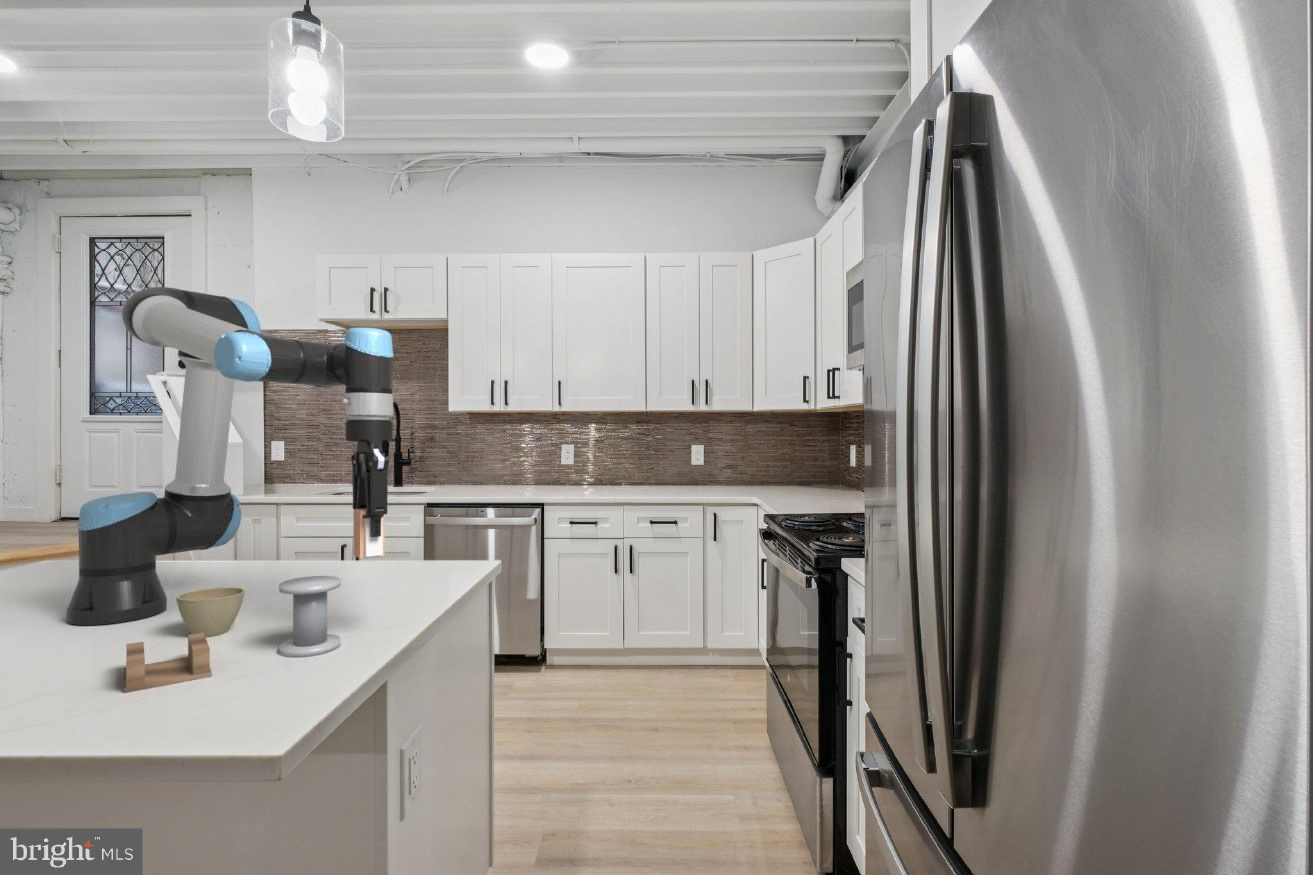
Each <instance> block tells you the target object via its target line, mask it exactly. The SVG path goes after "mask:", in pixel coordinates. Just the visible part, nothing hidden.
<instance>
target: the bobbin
mask: <svg viewBox="0 0 1313 875" xmlns="http://www.w3.org/2000/svg"><path fill="white" fill-rule="evenodd" d="M340 587H341V578H340V577H339V576H334V575H333V576H332V575H314V576H313V575H312V576H305V577H304V576H303V577H298V578H292V579H288V580H284V581H282V582H280V583H279V584H278V592H279V593H280V594H285V595H292V607H293V608H292V628H293V629H292V630H293V631H292V638H289V639H287V640H284V641H282V642H280V643H279V645H278V654H279V655H281V656H283V657H286V658H287V657H288V658H306V657H314V656H320V655H324V654H327V653H330V652H333V651H335V650H337V649H339V648H340V647H341V637H340V636H339V635H338V634H332V633H328V592H329V591H334V590H336V589H338V588H340Z"/></svg>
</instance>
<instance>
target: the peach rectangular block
mask: <svg viewBox="0 0 1313 875" xmlns="http://www.w3.org/2000/svg"><path fill="white" fill-rule="evenodd" d="M362 515H367V509H366V508H365V509H354V510H353V535H352V536H353V553H352V554H353V557H356V558H358V559H361V560H362V559H368V558H379V557H385V547H386V546H385V544H386V543H385V535H386V534H385V530H386V529H385V528H386V527H385V526H386V525H385V520H386V519H385V516H386V514H384V516H383V555H380V556H371V557H365V519H363V517H362Z"/></svg>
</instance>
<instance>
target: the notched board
mask: <svg viewBox="0 0 1313 875" xmlns="http://www.w3.org/2000/svg"><path fill="white" fill-rule="evenodd" d="M125 647H126V649H125V651H126V656H125V657H126V660H125V661H126V662H125V663H126V664H125V665H126V667H124V671H123V673H124V674H123V693H125V694H126V693H130V692H134V691H135V692H136V691H139V690H140V691H141V690H145V689H146V690H147V689H151V688H156V687H157V688H158V687H161V686H162V687H163V686H167V685H172V684H178V683H182V682H188V681H194V680H198V679H204V678H209V677H210V678H211V677H213V671H212V669H211V665H210V664H211V654H210V653H211V652H210V650H211V649H210V646H209V643H208V640H207V637H205V635H204V632H202V633H196V634H192V633H190V634H187V656H186V657H181V658H175V659H169V660H164V661H163V660H162V661H158V662H151V663H146V658H145V655H146V654H145V644H144V641H140V642H132V643H127V644H126V646H125Z"/></svg>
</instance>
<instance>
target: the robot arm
mask: <svg viewBox="0 0 1313 875" xmlns="http://www.w3.org/2000/svg"><path fill="white" fill-rule="evenodd" d="M121 319H122V322H123V325H124V327H125V329H126V330H127V332H128V333H130V334H131V336H133V337H134V338H135V339H137V340H139V341H140V342H143V343H146V344H149V345H151V346H153V347H158V348H171V349H176V350H178V351H177V357H178V359H179V360H180V361H181V362H182V363H183V364H184V366H185V373H184V383H183V384H184V385H183V393H182V395H183V396H182V403H181V404H182V405H181V415H180V422H179V423H180V425H179V434H178V446H177V452H176V463H175V464H176V465H175V476H174V479H173V480H172V481H171V482H169V483H167V484H166V485H165V486H164V495H163V497H157V495H156V493H154V492H152V491H140V492H139V491H137V492H130V493H122V494H115V495H108V496H103V497H99V498H95V499H91V500H88V501H86V502H85V503H84V504H82V506H81V507H80V509H79V516H78V517H79V518H78V524H77V530H78V582H77V584H76V586H75V588H74V592H73V594H72V597H71V599H70V601H69V604H68V607H67V609H66V623H67V624H70V625H76V626H99V625H110V624H118V623H123V622H124V623H125V622H130V621H131V622H132V621H135V620H141V619H145V618H149V617H153V616H155V615H157V614H161V613H163V612H165V611H166V610H167V609H168V605H167V604H168V599H167V595H166V593H165V590H164V587H163V585H162V582H161V580H160V578H159V576H158V573H157V565H156V564H157V560H156V559H157V556H158V557H159V556H163V555H169V554H170V555H171V554H172V555H173V554H177V553H178V554H179V553H185V552H191V551H204V550H209V549H211V548H217V547H221V546H224V545H226V544H228V543H229V542H230V541H232V540H233V539H234V537H235V535H236V534H237V533H238V531H239V527H240V525H241V521H242V508H241V507H240V506H241V503H240V501H239V499H238V498H237V496H236V495H235V494H233V493H232V488H231V486H229V485H228V484H227V483H226V482H225V472H226V464H227V453H228V445H229V433H230V426H231V417H232V415H231V414H232V408H233V396H234V388H235V380H238V381H243V382H267V383H283V384H284V383H285V384H293V385H294V384H295V385H307V386H310V387H315V388H324V389H325V388H326V389H327V388H332V387H341V386H345V391H344V392H345V398H343V399H342V401H341V402H342V404H343V405H345V416H346V417H348V418H349V419H346V421H345V423H344V424H345V426H344V428H345V433H344V434H345V440H346V441H347V442H350V443H351V442H352V443H353V442H357V446H356V452H354V454H352V455H351V457H350V459H351V467H352V471H351V472H352V510H353V511H354V509H365V508H366V509H367V515H362V517H363V519H365V557H371V556H380V555H383V516H384V514H385V515H387V514H388V486H389V485H388V480H389V476H388V475H389V474H388V470H389V464H390V457H389V456H387V455H386V454H385V452H383V444H382V443H383V442H391V441H393V438H394V434H393V433H394V429H393V426H394V424H393V422H392V420H390V418H392V417H393V416H394V394H393V389H394V388H393V383H394V382H393V381H394V380H393V377H394V376H393V375H394V374H393V373H394V372H393V368H394V365H393V364H394V363H393V362H394V356H395V354H394V352H393V351H394V350H393V337H392V334H391V333H390V332H388V331H387V330H385V329H380V328H374V327H351V328H349V329H348V330H346V332H345V336H344V341H343V343H322V342H316V341H308V340H307V341H306V340H299V339H291V338H283V337H282V338H281V337H277V336H271V335H266V334H262V332H261V324H260V321H259V318H258V316H257V314H256V313H255V310H254V309H253V308H252V307H251V306H250V305H249V304H248V303H247V302H245V301H243V300H239V299H235V298H231V297H227V296H222V295H214V294H209V293H204V292H203V293H202V292H198V291H191V290H187V289H179V288H175V287H166V286H165V287H164V286H157V287H149V288H144V289H142V290H139V291H137V292H135V293H133V294H132V295H130V297H128V299H127V300H126V301H125V303H124V304H123V307H122V311H121ZM385 455H386V456H385ZM380 557H381V556H380ZM371 558H372V557H371Z"/></svg>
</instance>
